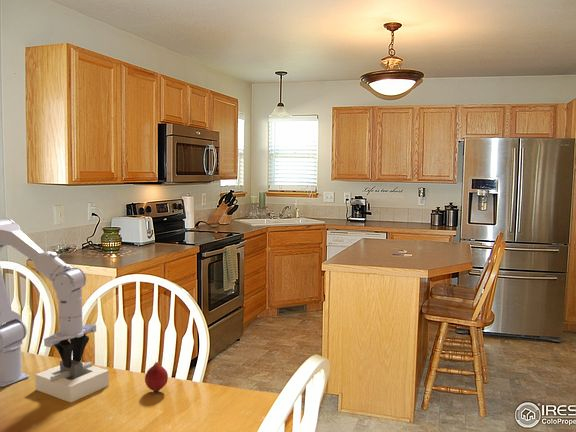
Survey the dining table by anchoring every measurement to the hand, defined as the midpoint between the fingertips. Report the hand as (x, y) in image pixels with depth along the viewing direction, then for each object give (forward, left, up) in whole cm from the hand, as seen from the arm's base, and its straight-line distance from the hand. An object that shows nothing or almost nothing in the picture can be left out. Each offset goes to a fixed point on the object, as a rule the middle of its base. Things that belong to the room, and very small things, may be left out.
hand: (72, 365), depth 140 cm
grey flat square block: (0, 0, -5) cm, 5 cm away
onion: (+20, +10, -6) cm, 24 cm away
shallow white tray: (0, 0, -6) cm, 6 cm away
